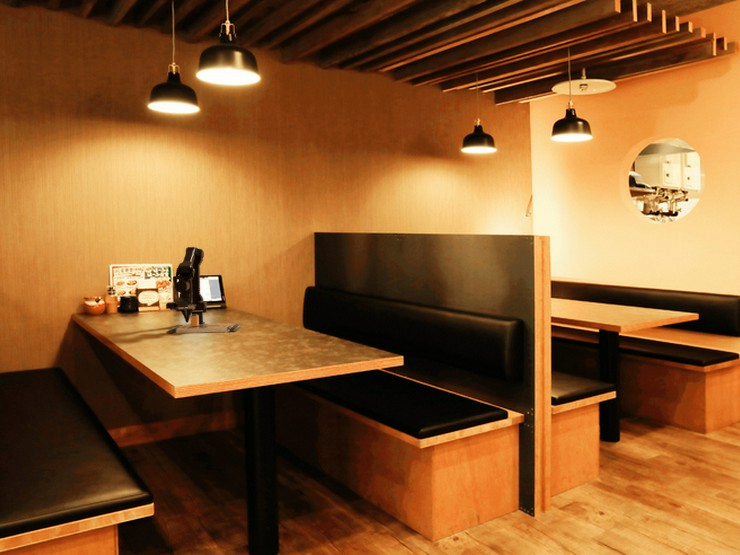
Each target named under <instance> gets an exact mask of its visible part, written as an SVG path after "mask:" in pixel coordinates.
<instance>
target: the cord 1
mask: <svg viewBox="0 0 740 555" xmlns="http://www.w3.org/2000/svg"><path fill="white" fill-rule="evenodd" d="M181 326H182V325H180V324H179V325H176V326H174V327H172V328H170V329H168V330H167V331H166V332H165V334H166V335H167V334H170V335H171V334H173V333H175V332H176V329H177V328H179V327H181Z"/></svg>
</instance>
